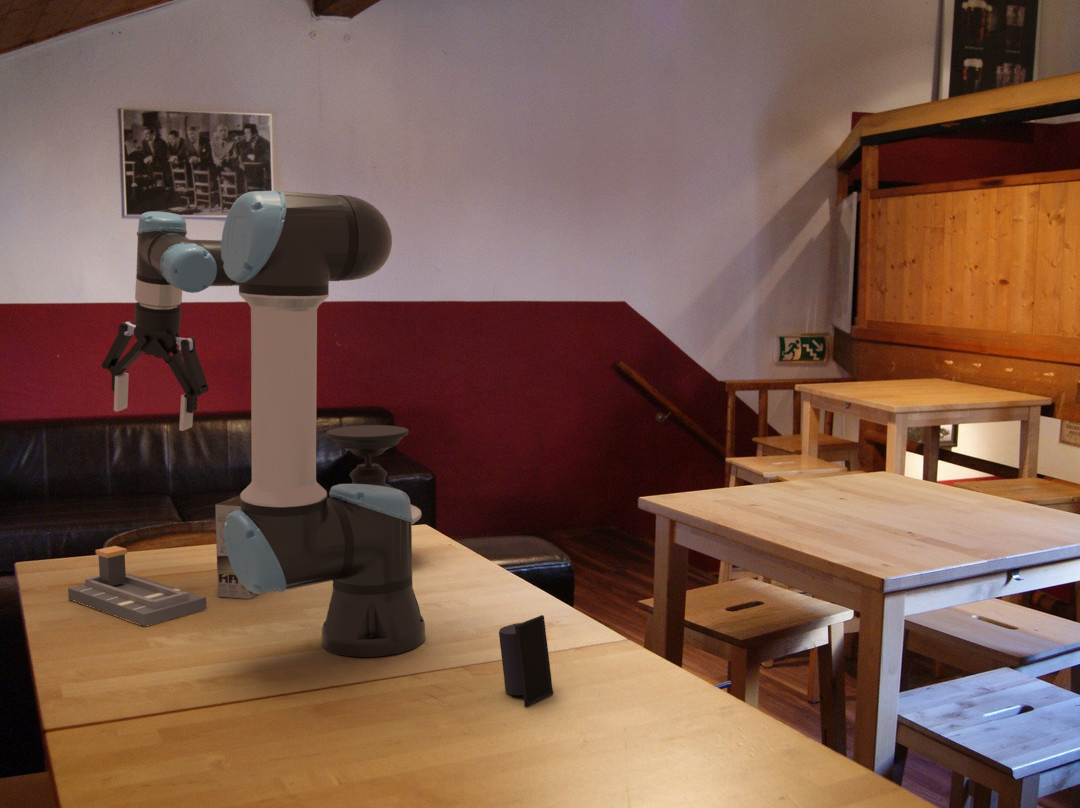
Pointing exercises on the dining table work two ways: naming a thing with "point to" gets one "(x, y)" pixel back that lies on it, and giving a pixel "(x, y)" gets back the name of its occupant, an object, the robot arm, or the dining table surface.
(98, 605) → the console board
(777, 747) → the dining table surface
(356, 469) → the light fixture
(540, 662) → the speaker
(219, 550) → the coffee box
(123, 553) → the fader tab
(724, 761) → the dining table surface
